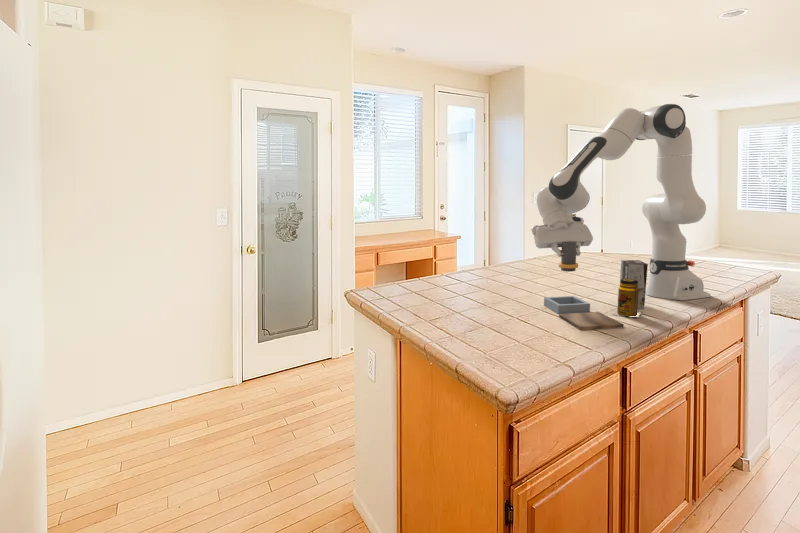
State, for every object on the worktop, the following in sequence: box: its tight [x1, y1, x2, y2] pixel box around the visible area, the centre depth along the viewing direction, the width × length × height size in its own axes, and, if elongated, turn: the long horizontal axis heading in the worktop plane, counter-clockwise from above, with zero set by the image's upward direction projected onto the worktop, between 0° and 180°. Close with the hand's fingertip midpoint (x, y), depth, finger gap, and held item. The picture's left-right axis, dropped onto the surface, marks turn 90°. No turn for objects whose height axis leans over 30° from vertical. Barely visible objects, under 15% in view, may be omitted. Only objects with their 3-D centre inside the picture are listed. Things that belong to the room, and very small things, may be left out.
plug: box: [558, 241, 579, 272], centre depth 154 cm, size 6×6×10 cm
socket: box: [543, 295, 591, 315], centre depth 157 cm, size 11×11×3 cm
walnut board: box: [558, 311, 625, 331], centre depth 142 cm, size 14×14×1 cm
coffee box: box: [619, 259, 649, 310], centre depth 158 cm, size 9×6×16 cm
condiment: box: [613, 279, 644, 317], centre depth 148 cm, size 7×8×12 cm
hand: (569, 255), depth 153 cm, fingers closed on plug, 5 cm apart
